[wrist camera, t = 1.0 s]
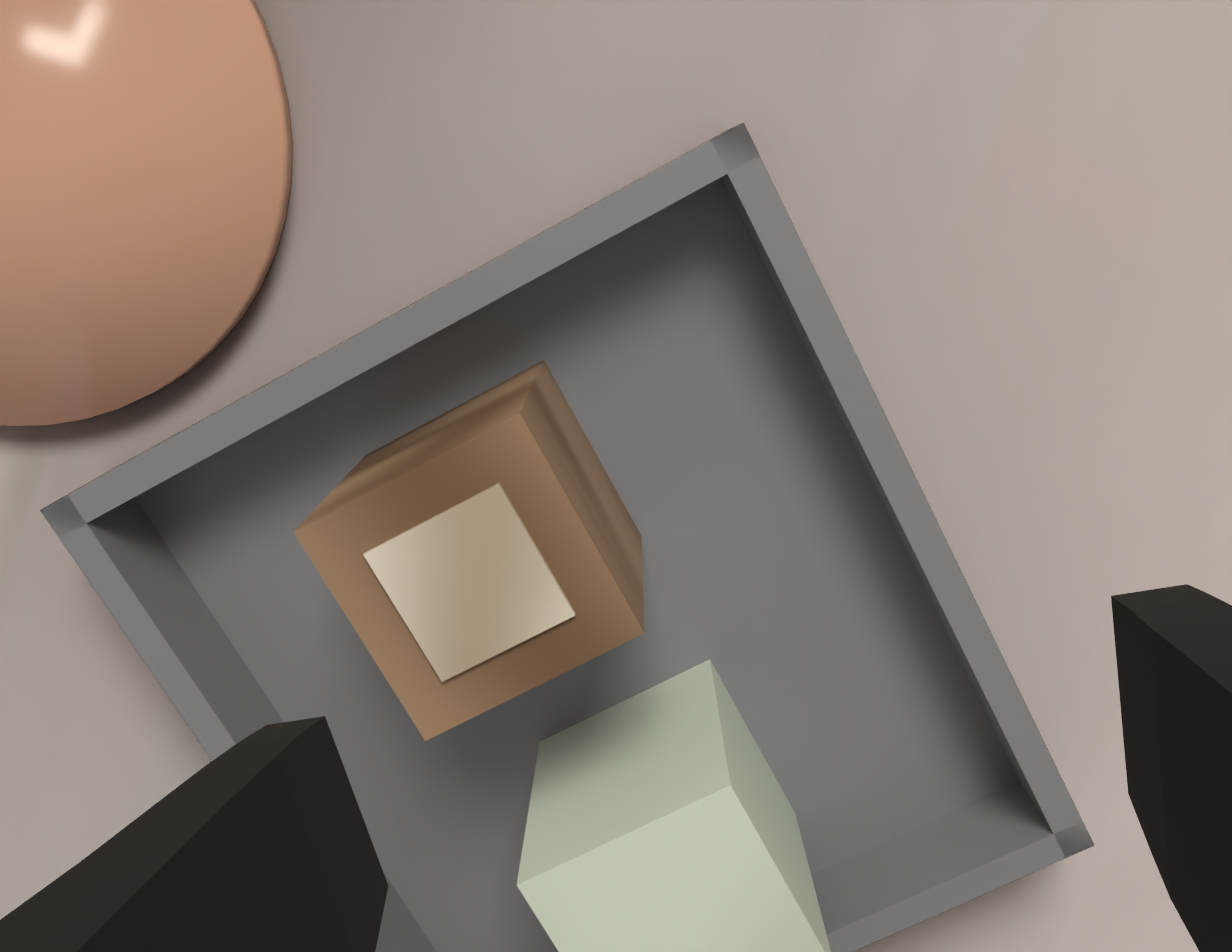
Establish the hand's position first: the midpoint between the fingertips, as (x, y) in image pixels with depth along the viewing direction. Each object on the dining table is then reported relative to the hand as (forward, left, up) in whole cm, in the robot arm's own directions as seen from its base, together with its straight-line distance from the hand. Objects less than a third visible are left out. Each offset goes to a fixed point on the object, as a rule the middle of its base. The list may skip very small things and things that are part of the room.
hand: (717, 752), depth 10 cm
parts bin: (-3, -3, -13) cm, 14 cm away
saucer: (-8, +11, -13) cm, 19 cm away
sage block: (-3, -6, -12) cm, 14 cm away
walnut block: (-3, +1, -12) cm, 13 cm away
